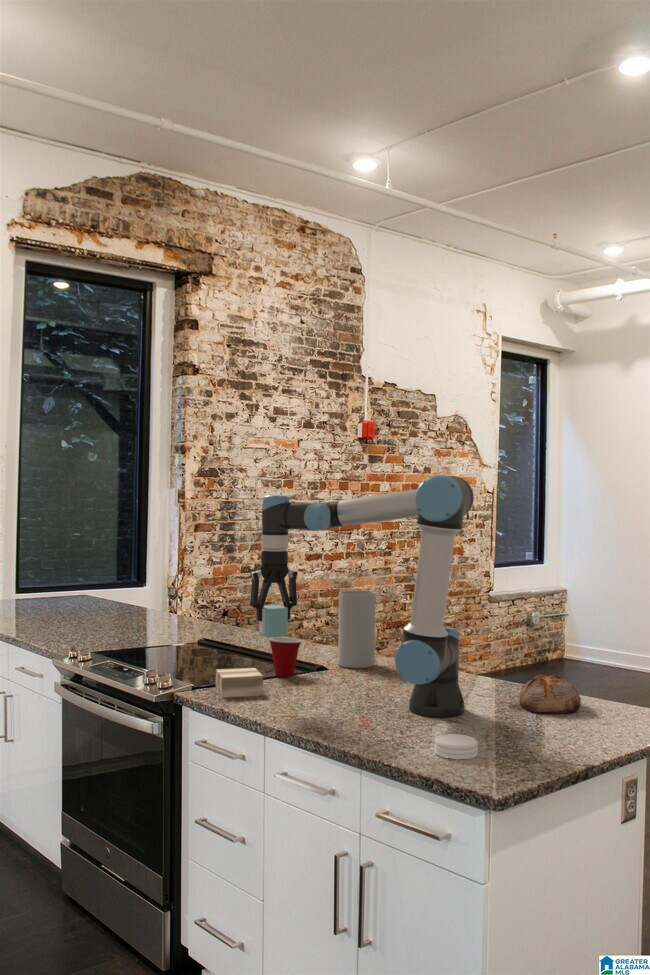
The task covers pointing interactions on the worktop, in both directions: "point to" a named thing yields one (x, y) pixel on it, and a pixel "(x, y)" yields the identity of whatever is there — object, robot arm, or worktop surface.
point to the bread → (549, 695)
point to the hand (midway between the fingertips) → (273, 631)
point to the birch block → (239, 682)
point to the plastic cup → (284, 655)
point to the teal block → (275, 621)
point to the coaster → (456, 746)
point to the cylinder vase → (356, 629)
